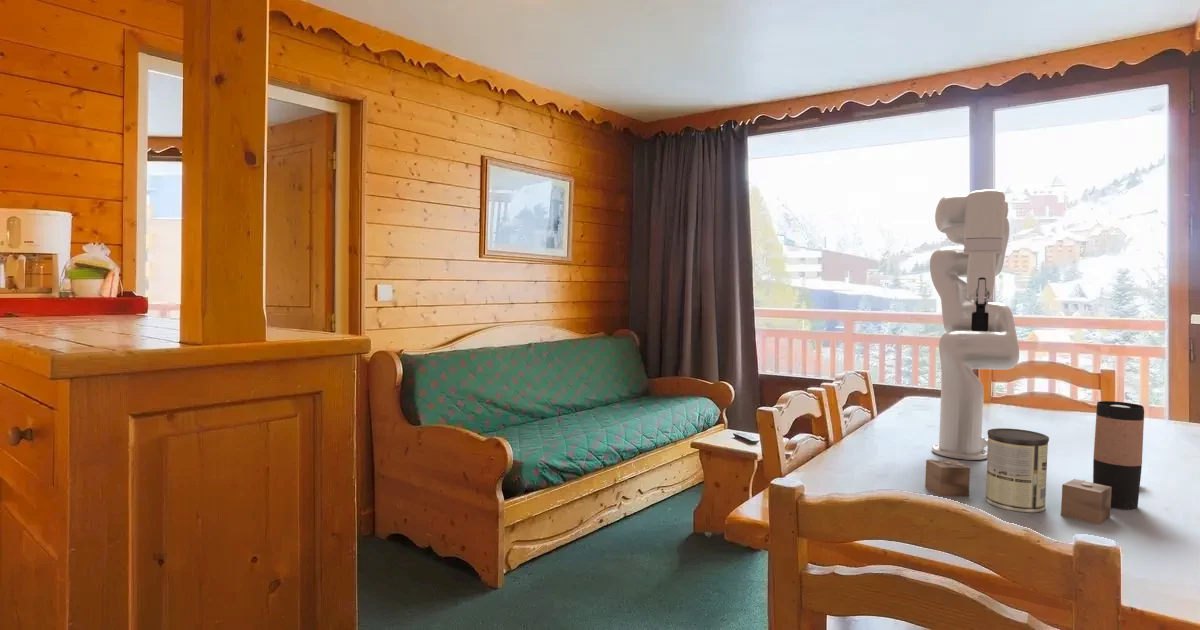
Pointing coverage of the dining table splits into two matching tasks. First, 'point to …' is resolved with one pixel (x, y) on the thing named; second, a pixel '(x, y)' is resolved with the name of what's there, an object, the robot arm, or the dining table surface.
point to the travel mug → (1119, 451)
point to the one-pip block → (1086, 501)
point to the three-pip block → (947, 477)
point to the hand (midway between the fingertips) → (979, 330)
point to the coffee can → (1016, 469)
